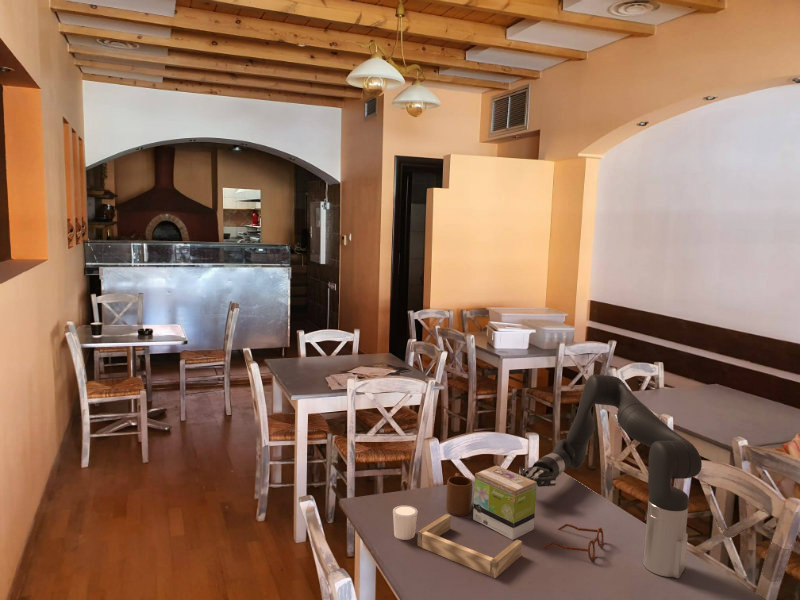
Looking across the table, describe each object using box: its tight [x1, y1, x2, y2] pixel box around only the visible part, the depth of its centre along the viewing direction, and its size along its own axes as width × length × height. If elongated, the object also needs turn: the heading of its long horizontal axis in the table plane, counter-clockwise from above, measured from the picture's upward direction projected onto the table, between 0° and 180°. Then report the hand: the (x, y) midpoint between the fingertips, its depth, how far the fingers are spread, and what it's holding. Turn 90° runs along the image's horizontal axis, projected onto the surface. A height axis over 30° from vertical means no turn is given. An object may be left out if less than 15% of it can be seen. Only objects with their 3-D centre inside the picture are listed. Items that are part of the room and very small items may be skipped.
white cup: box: [392, 505, 419, 541], centre depth 173 cm, size 7×7×7 cm
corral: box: [416, 513, 523, 579], centre depth 166 cm, size 24×14×4 cm, turn 52°
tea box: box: [472, 464, 538, 541], centre depth 180 cm, size 15×10×15 cm, turn 42°
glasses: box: [542, 523, 604, 561], centre depth 171 cm, size 13×13×5 cm
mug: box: [445, 472, 473, 517], centre depth 191 cm, size 12×8×9 cm, turn 1°
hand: (524, 484), depth 190 cm, fingers closed
